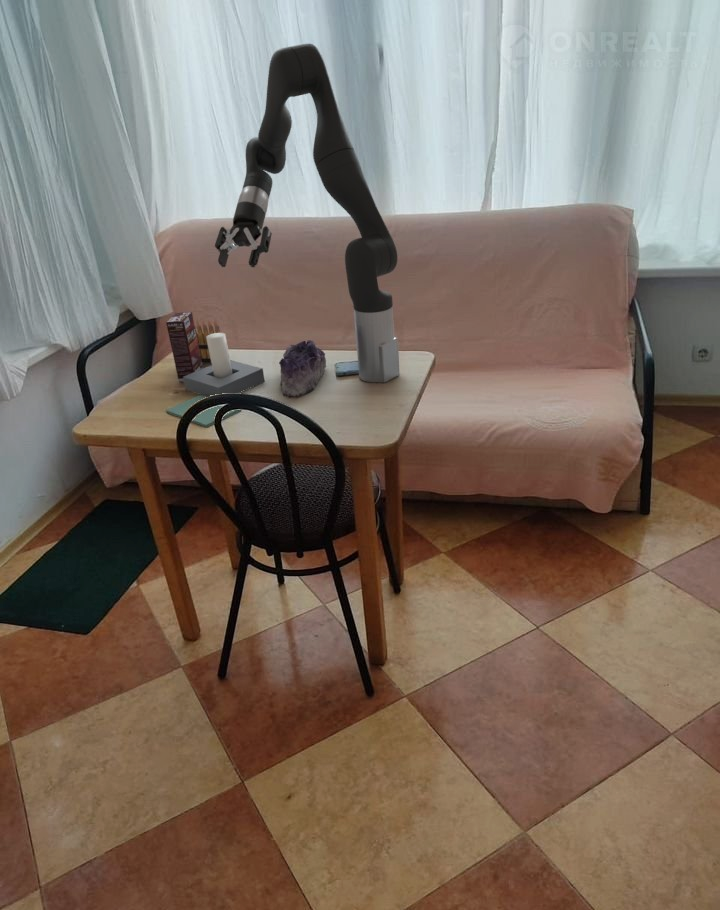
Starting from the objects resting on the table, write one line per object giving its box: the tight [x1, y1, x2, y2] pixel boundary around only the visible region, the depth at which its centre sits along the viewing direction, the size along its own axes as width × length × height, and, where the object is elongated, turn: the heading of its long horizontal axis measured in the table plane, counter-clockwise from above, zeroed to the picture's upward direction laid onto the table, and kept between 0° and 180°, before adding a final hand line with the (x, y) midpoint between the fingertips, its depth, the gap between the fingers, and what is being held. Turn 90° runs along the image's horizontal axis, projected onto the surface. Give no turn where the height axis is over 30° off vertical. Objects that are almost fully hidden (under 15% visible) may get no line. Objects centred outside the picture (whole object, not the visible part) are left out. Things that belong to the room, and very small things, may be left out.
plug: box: [206, 332, 233, 379], centre depth 155 cm, size 5×5×13 cm
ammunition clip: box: [194, 319, 221, 364], centre depth 173 cm, size 11×2×12 cm, turn 76°
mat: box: [165, 394, 242, 428], centre depth 145 cm, size 15×10×1 cm, turn 50°
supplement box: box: [165, 311, 204, 383], centre depth 163 cm, size 9×5×16 cm, turn 179°
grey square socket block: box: [183, 359, 266, 397], centre depth 158 cm, size 14×14×4 cm
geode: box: [278, 339, 327, 399], centre depth 155 cm, size 20×12×10 cm, turn 176°
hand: (236, 265), depth 158 cm, fingers open, 8 cm apart
